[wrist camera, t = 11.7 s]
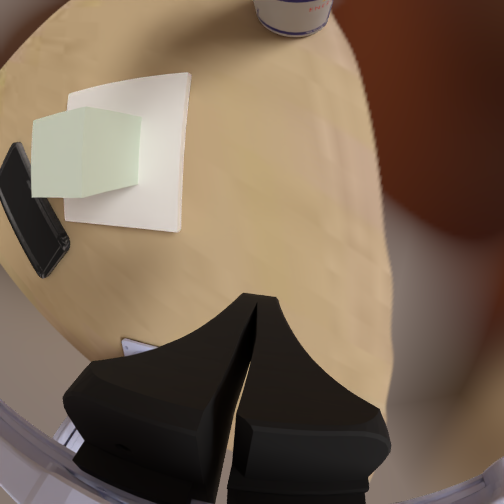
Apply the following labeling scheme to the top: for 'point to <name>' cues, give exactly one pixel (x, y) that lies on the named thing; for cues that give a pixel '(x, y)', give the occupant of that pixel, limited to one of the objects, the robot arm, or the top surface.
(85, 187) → the pale green slotted block
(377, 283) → the top surface
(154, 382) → the robot arm
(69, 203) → the post board
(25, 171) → the phone
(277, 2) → the energy drink
